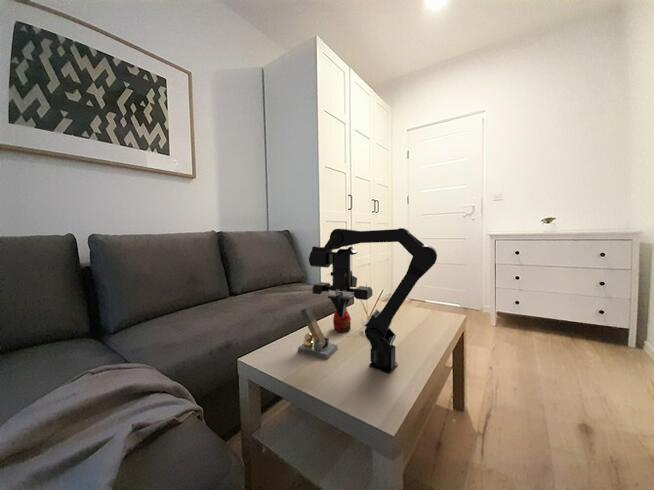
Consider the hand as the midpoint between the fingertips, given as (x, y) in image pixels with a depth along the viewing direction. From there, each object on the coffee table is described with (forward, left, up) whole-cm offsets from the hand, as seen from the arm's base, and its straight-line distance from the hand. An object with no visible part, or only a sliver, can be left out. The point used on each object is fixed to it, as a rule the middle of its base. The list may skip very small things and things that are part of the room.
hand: (341, 317), depth 80 cm
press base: (+9, +1, -13) cm, 16 cm away
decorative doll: (+13, -19, -13) cm, 26 cm away
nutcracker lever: (+7, +1, -10) cm, 13 cm away
